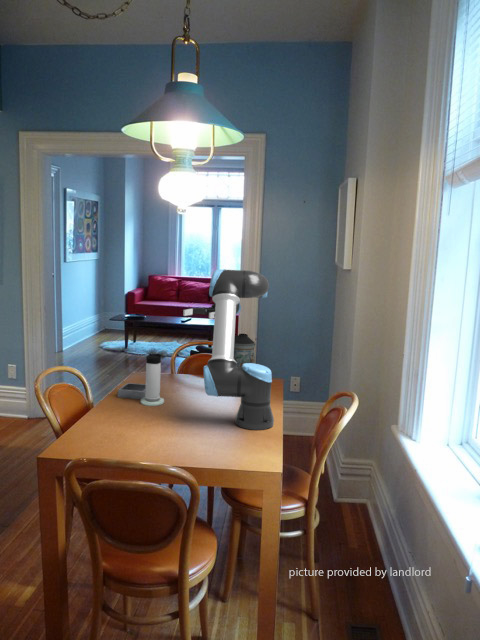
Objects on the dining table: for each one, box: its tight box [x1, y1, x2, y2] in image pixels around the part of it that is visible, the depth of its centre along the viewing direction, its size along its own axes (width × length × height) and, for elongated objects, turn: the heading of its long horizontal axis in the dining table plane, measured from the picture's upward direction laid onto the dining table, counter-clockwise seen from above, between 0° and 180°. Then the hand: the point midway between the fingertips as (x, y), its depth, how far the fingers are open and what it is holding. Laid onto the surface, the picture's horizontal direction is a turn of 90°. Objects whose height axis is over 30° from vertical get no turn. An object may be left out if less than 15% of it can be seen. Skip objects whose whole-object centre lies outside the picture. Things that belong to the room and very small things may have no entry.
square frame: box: [117, 382, 146, 400], centre depth 229 cm, size 12×12×4 cm
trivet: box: [140, 396, 165, 407], centre depth 219 cm, size 10×10×1 cm
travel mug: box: [145, 353, 162, 402], centre depth 218 cm, size 6×7×20 cm
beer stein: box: [233, 333, 256, 367], centre depth 257 cm, size 16×19×25 cm
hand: (196, 314), depth 226 cm, fingers open, 13 cm apart
